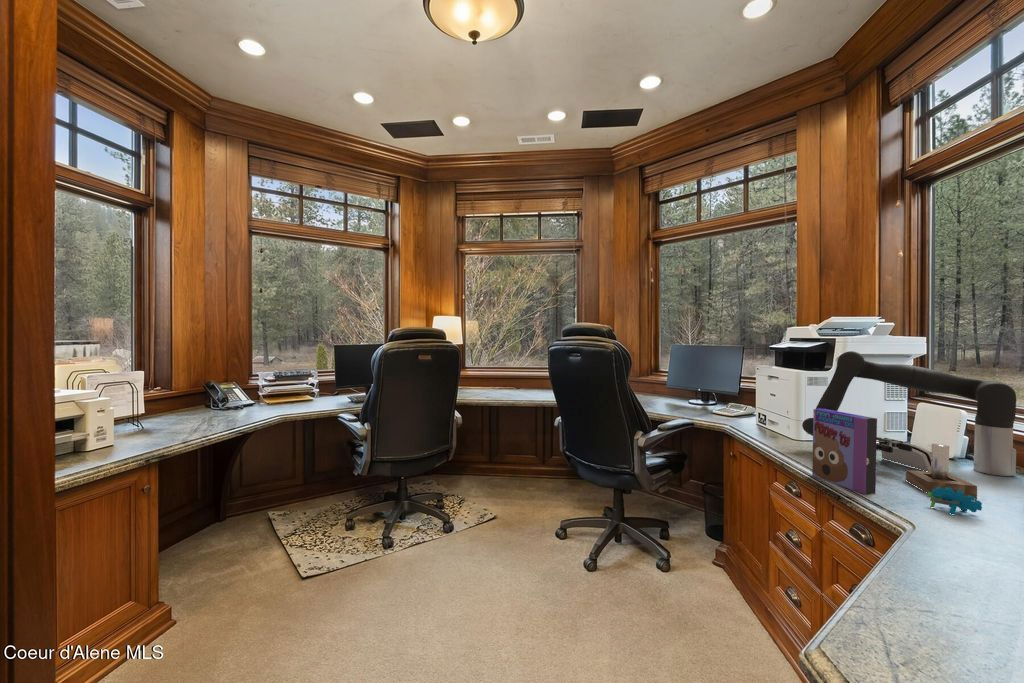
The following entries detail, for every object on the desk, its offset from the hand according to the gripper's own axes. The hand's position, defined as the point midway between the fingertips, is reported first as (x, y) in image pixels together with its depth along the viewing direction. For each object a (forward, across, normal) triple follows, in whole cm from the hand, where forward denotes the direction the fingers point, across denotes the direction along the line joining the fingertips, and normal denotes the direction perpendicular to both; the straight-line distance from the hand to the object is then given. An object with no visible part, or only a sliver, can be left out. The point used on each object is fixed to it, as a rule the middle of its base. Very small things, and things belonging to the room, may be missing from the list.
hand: (901, 449), depth 147 cm
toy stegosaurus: (+25, -17, +10) cm, 32 cm away
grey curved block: (-10, +18, +10) cm, 23 cm away
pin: (+11, 0, +10) cm, 15 cm away
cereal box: (+1, -26, +10) cm, 28 cm away
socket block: (+11, 0, +10) cm, 15 cm away
